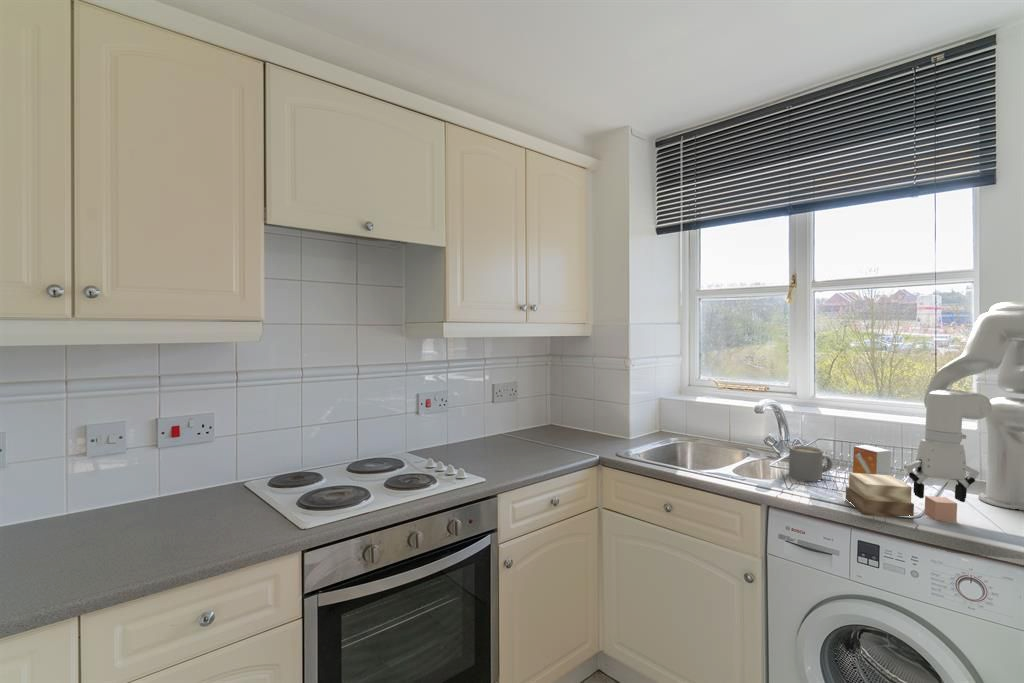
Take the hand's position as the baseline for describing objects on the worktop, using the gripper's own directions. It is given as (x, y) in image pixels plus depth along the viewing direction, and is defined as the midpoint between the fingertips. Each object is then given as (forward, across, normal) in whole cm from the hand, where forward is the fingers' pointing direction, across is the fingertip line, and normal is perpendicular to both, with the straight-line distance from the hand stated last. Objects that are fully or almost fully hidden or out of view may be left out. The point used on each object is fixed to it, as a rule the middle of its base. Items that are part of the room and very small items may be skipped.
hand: (939, 498), depth 139 cm
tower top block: (+2, +13, -3) cm, 14 cm away
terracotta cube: (+5, -1, 0) cm, 5 cm away
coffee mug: (+6, +22, -31) cm, 38 cm away
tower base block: (+6, +13, -3) cm, 15 cm away
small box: (+5, +6, -24) cm, 26 cm away
